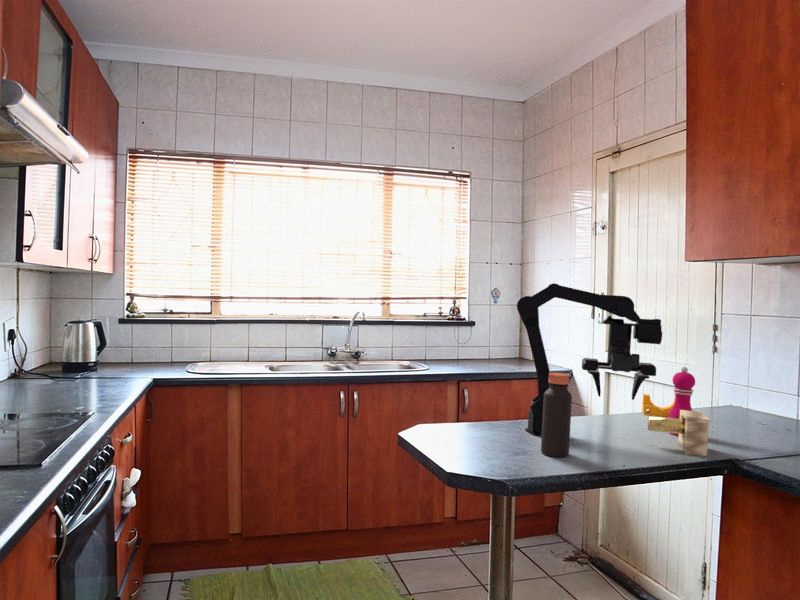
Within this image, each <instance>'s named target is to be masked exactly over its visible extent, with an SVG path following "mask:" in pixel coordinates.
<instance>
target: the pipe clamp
mask: <svg viewBox="0 0 800 600" xmlns="http://www.w3.org/2000/svg"><path fill="white" fill-rule="evenodd" d="M674 402H675V399H674V400H673V402H672V403H671V404H670V405H668V406H665V407H660V406H657V405H655V404H654V403H653V402H652V401H651V395H650V394H647V393H643V394H642V406H641V409H642V410H641V413H642V414H643V413H644V415H646V416H658V417H668V415H669V412H670V410H671V409H672V407H673V405H674Z"/></svg>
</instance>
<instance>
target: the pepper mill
mask: <svg viewBox="0 0 800 600" xmlns="http://www.w3.org/2000/svg"><path fill="white" fill-rule="evenodd" d="M688 371H689V370H688V368H687V367H686V366H683V367H681V369H680V372H679V371H678V372H676V373H674V375H673V377H672V384H673V385H674V388H673V393H674V395H675V397H674V400H675V402H674V401H673V402H674V405H673V407H672V409H671V410H670V412H669V415H668V416H667V417H668V418H679V419H680V410H688V411H693V408H692V405H691V398H692V395H694V394H693V387H694V386H696V379H695V377H694V375H693V374H692V373H689V372H688ZM669 434H670V435H672V436H675V437H676V436H677V437H678V436H679V434H677V433H669Z"/></svg>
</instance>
